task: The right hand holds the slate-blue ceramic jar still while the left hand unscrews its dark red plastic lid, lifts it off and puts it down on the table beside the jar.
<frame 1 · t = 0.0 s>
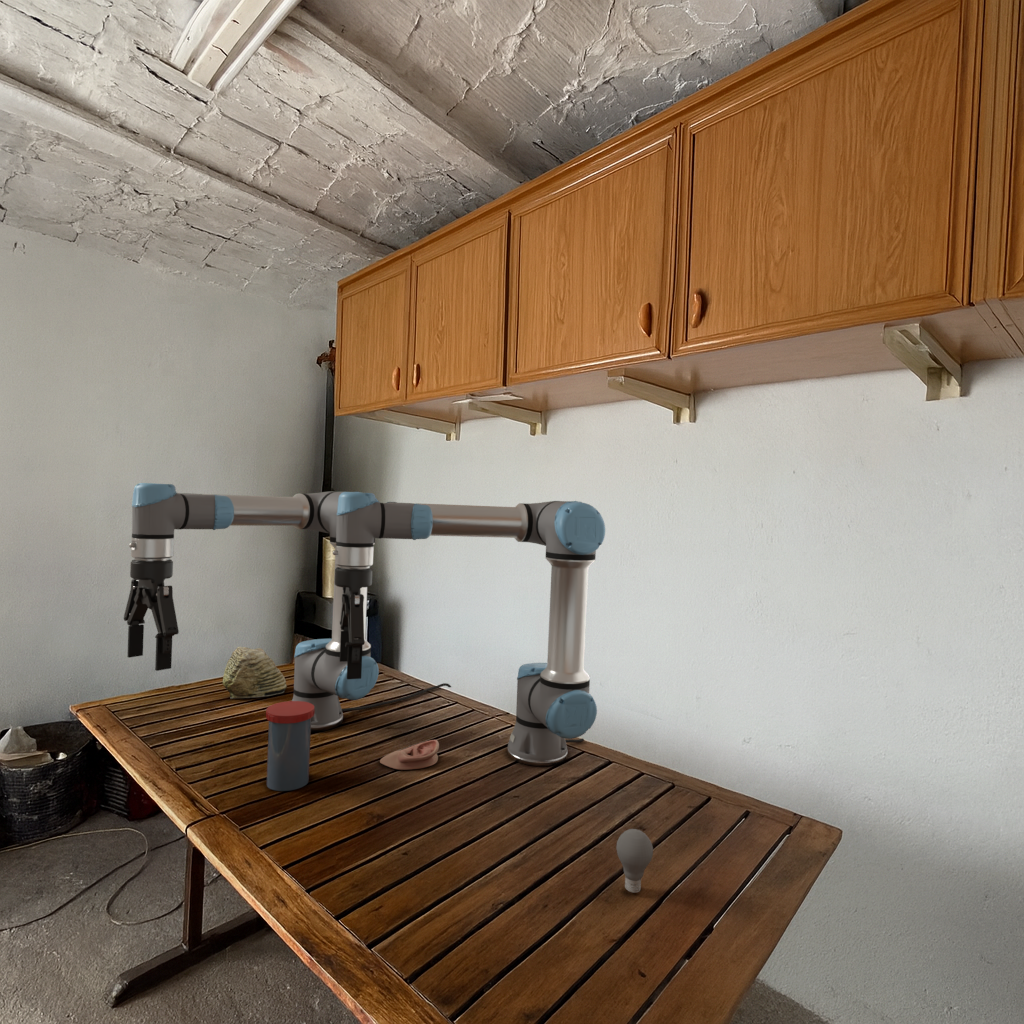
left hand: (148, 662, 129), 28 cm above the table, tool pointing down, fingers open, 13 cm apart
right hand: (349, 669, 131), 28 cm above the table, tool pointing down, fingers open, 13 cm apart
anatomical model: (409, 761, 154), on the table
fossil: (254, 694, 198), on the table
light bulb: (632, 891, 106), on the table
jar: (287, 782, 140), on the table
lid: (290, 709, 140), point 16 cm above the table, screwed on, not yet turned
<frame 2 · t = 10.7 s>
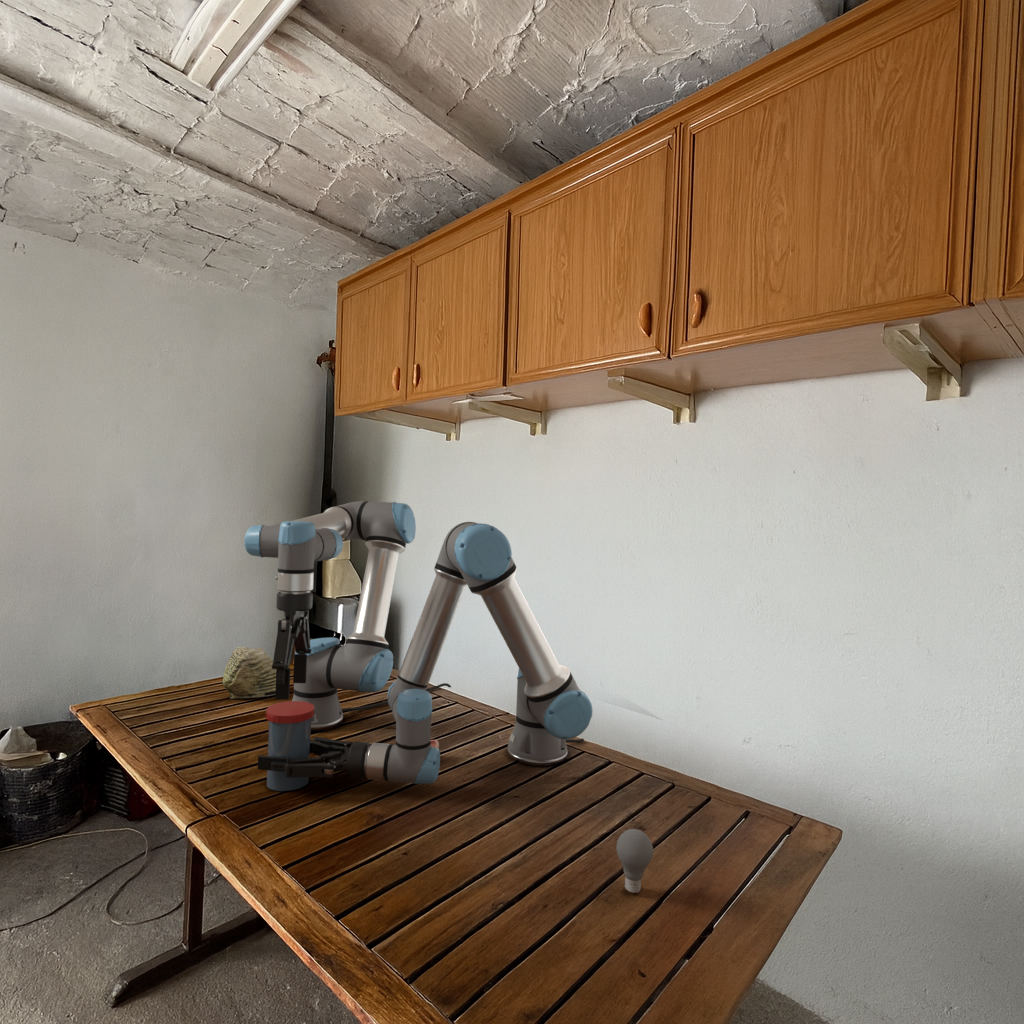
left hand: (291, 690, 140), 20 cm above the table, tool pointing down, fingers open, 11 cm apart
right hand: (268, 753, 140), 6 cm above the table, tool horizontal, fingers closed on jar, 9 cm apart
jar: (287, 782, 140), on the table, touching right hand
everything else where it was.
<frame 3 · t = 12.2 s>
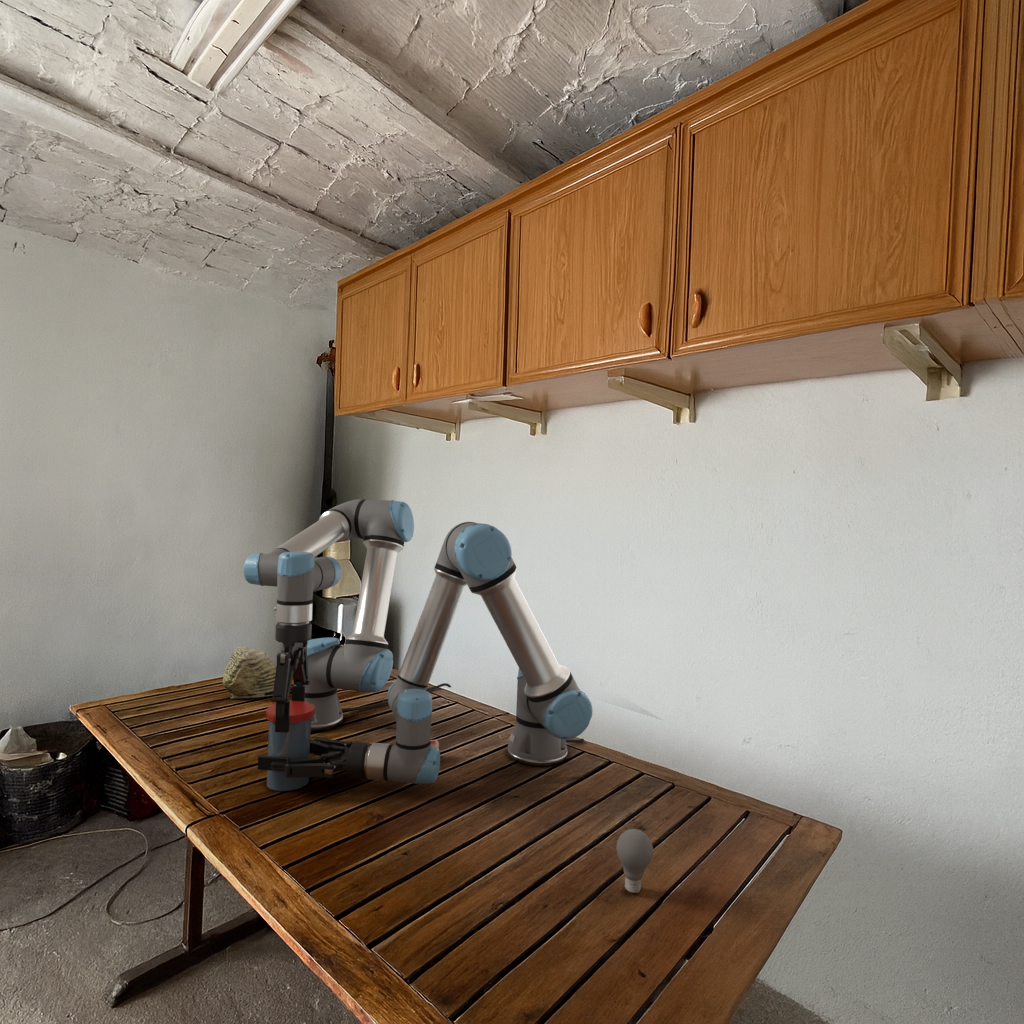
left hand: (290, 722, 140), 13 cm above the table, tool pointing down, fingers closed on lid, 10 cm apart
right hand: (268, 753, 140), 6 cm above the table, tool horizontal, fingers closed on jar, 9 cm apart
jar: (287, 782, 140), on the table, touching right hand
lid: (290, 709, 140), point 16 cm above the table, screwed on, not yet turned, touching left hand
everything else where it was.
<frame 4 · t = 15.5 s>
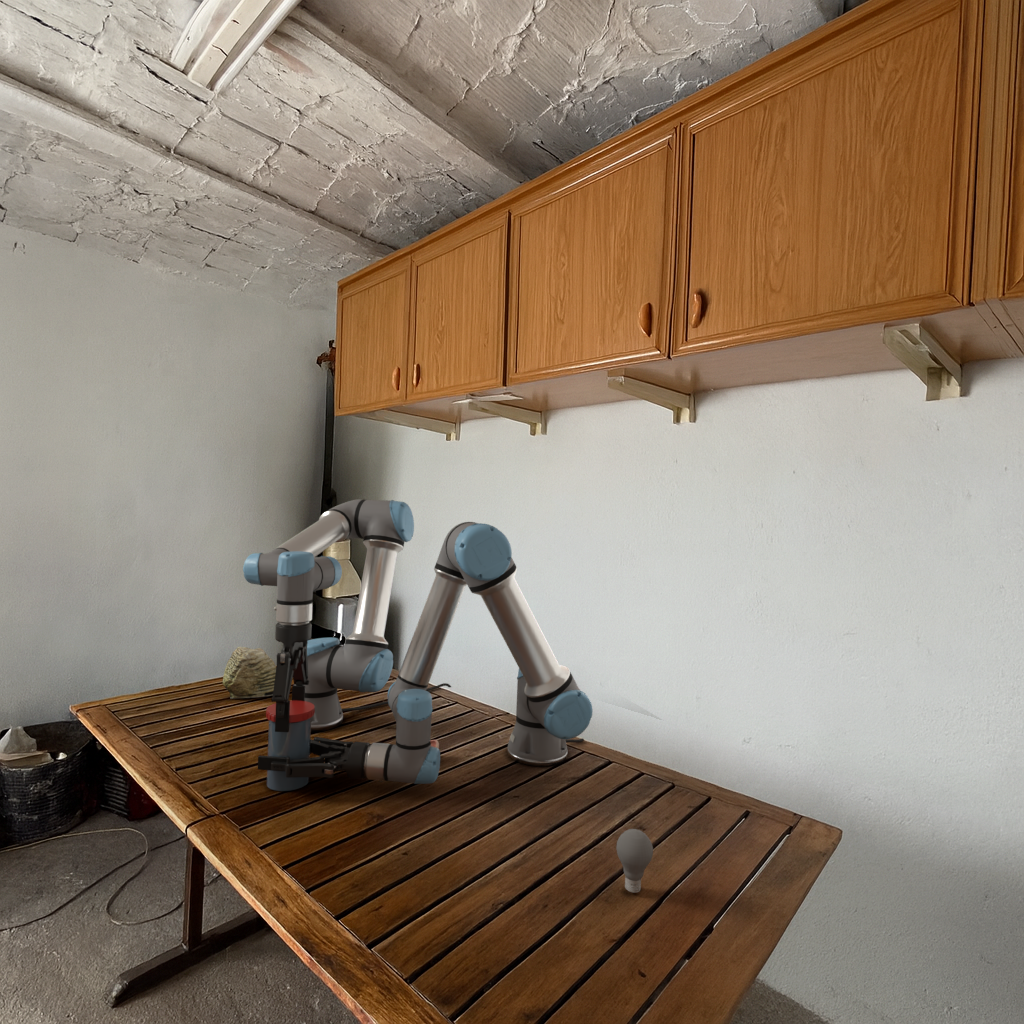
left hand: (290, 722, 140), 13 cm above the table, tool pointing down, fingers closed on lid, 10 cm apart
right hand: (268, 753, 140), 6 cm above the table, tool horizontal, fingers closed on jar, 9 cm apart
jar: (287, 781, 140), on the table, touching right hand
lid: (290, 709, 140), point 16 cm above the table, turned 88° so far, risen 0.1 cm, still on its thread, touching left hand
everything else where it was.
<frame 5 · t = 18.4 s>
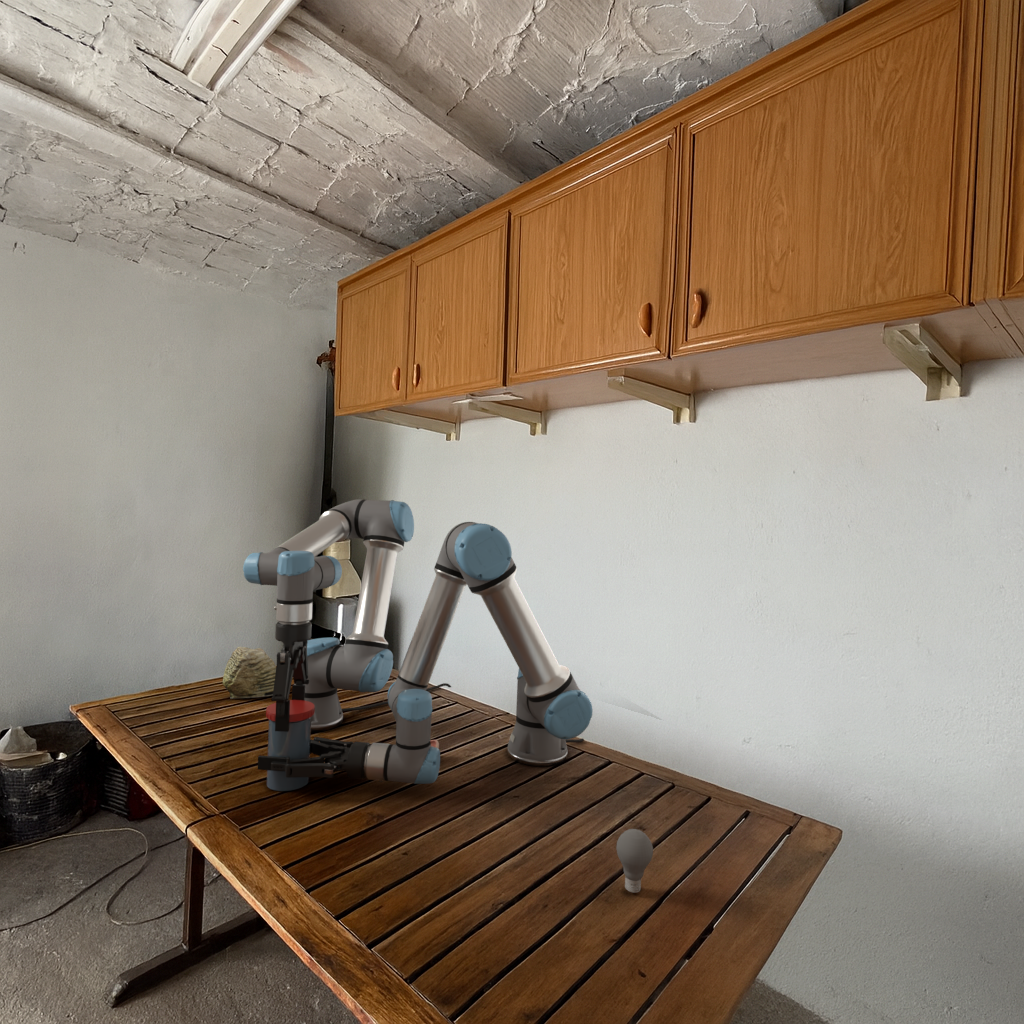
left hand: (290, 721, 140), 13 cm above the table, tool pointing down, fingers closed on lid, 10 cm apart
right hand: (268, 753, 140), 6 cm above the table, tool horizontal, fingers closed on jar, 9 cm apart
jar: (287, 781, 140), on the table, touching right hand
lid: (290, 708, 140), point 16 cm above the table, turned 176° so far, risen 0.3 cm, still on its thread, touching left hand
everything else where it was.
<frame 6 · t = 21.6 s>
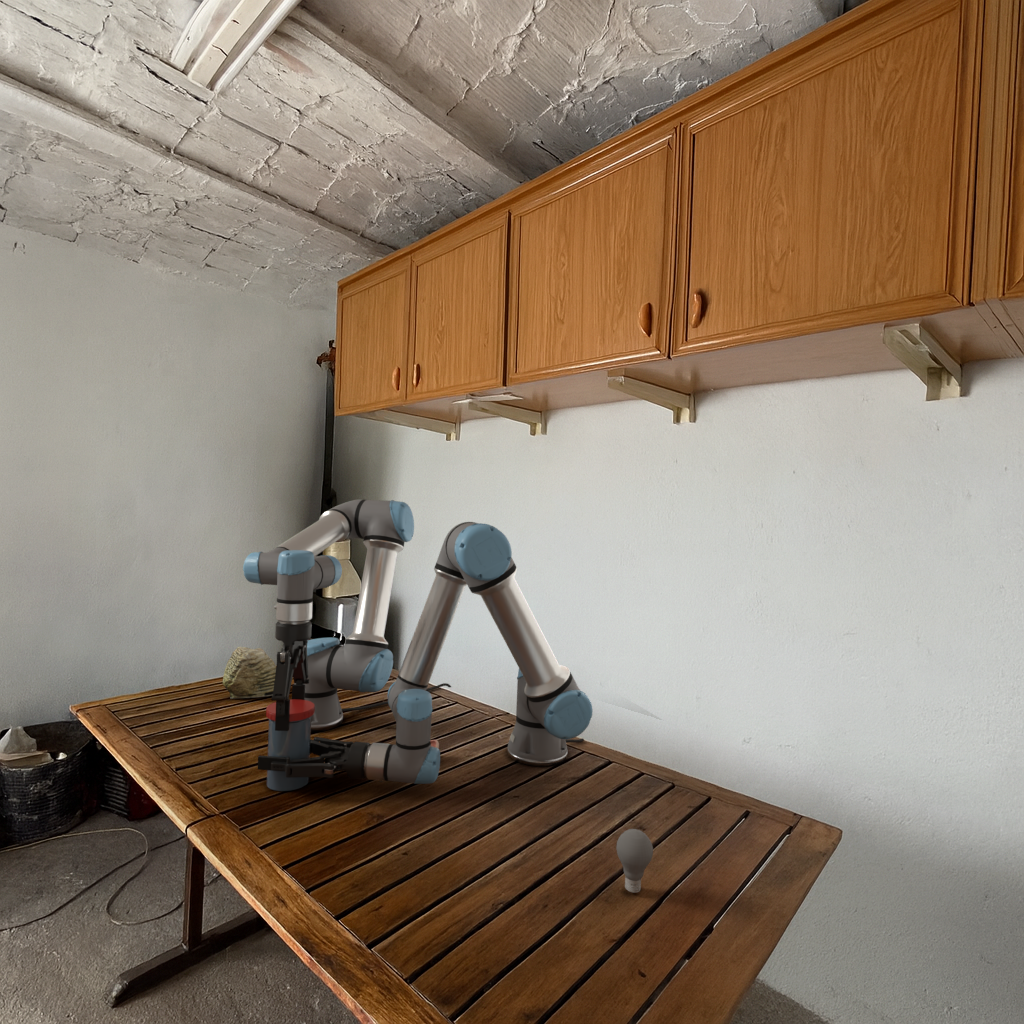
left hand: (290, 721, 140), 14 cm above the table, tool pointing down, fingers closed on lid, 10 cm apart
right hand: (268, 753, 140), 6 cm above the table, tool horizontal, fingers closed on jar, 9 cm apart
jar: (287, 781, 140), on the table, touching right hand
lid: (290, 708, 140), point 16 cm above the table, turned 265° so far, risen 0.4 cm, still on its thread, touching left hand
everything else where it was.
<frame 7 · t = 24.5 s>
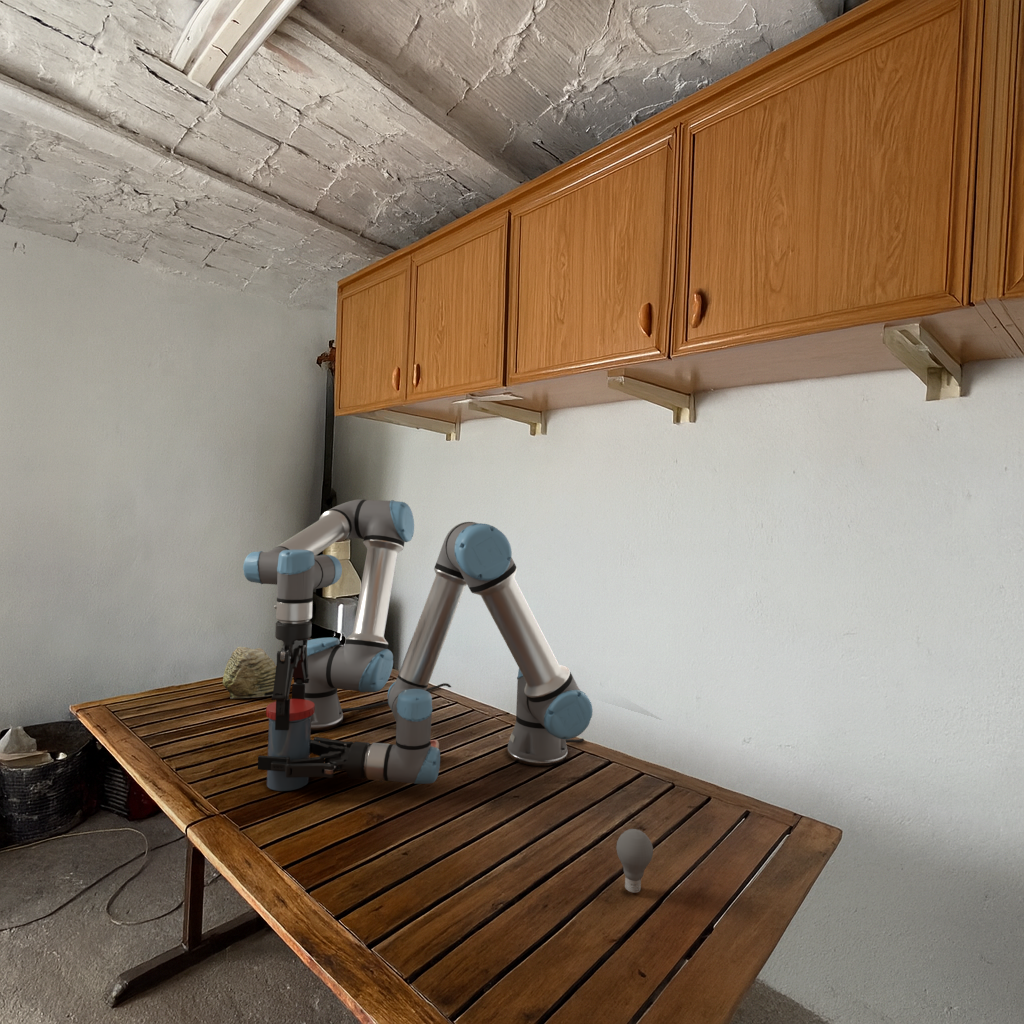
left hand: (290, 720, 140), 14 cm above the table, tool pointing down, fingers closed on lid, 10 cm apart
right hand: (268, 753, 140), 6 cm above the table, tool horizontal, fingers closed on jar, 9 cm apart
jar: (287, 781, 140), on the table, touching right hand
lid: (290, 707, 140), point 17 cm above the table, turned 353° so far, risen 0.5 cm, still on its thread, touching left hand
everything else where it was.
when the left hand's fingers open (0 cm above the table, at t = 30.9 s): lid drops 2 cm, point 1 cm above the table.
when the right hand's fingers open (6 cm above the table, at t = 31.9 s): jar stays where it is, on the table.
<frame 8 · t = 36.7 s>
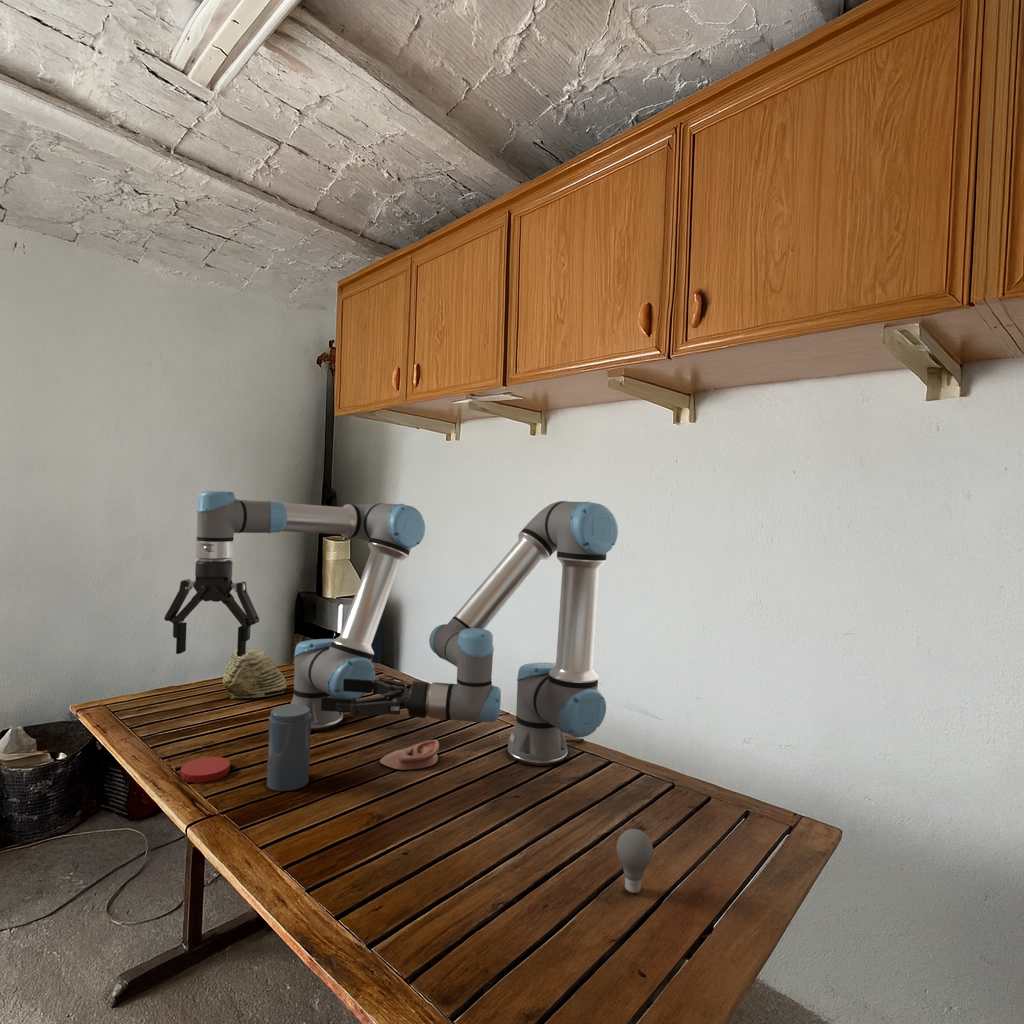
left hand: (211, 653, 142), 27 cm above the table, tool pointing down, fingers open, 13 cm apart
right hand: (333, 693, 139), 20 cm above the table, tool horizontal, fingers open, 13 cm apart
jar: (287, 781, 140), on the table
lid: (205, 767, 143), point 1 cm above the table, off its thread
everything else where it was.
at the end: lid came off its thread; lid point 1.3 cm above the table; the left hand is holding nothing; the right hand is holding nothing; jar tilted 0°; jar moved 0.0 cm from its start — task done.
